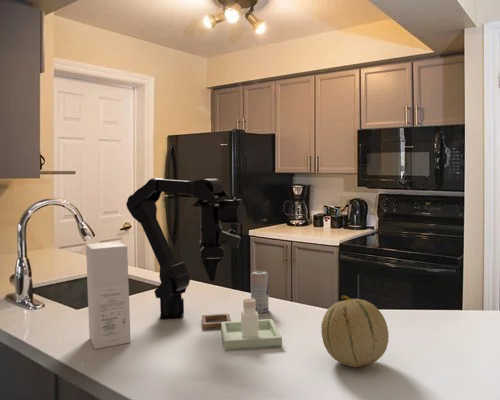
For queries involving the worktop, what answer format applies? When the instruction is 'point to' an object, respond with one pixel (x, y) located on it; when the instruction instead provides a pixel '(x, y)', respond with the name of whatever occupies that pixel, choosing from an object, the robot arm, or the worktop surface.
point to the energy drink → (260, 290)
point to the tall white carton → (108, 294)
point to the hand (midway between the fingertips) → (211, 277)
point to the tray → (236, 341)
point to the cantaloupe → (354, 332)
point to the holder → (213, 318)
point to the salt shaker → (249, 319)
